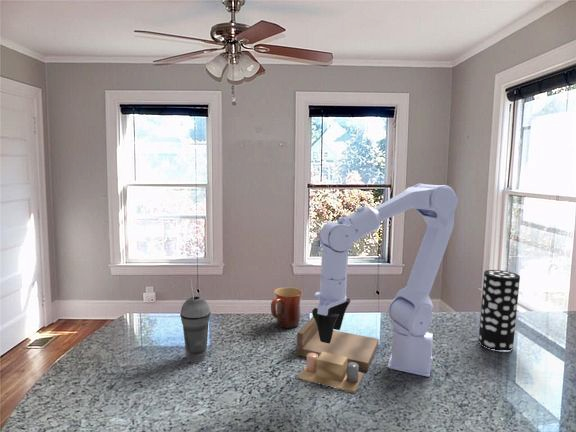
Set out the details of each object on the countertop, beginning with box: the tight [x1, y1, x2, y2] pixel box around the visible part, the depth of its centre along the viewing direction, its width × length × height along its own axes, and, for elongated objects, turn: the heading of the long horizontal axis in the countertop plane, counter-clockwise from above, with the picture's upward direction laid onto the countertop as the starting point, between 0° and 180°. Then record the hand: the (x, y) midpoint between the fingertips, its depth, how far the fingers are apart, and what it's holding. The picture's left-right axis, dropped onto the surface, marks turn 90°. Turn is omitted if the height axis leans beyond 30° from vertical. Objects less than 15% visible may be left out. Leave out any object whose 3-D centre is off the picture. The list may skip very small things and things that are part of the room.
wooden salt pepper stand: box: [298, 352, 365, 394], centre depth 87 cm, size 13×8×5 cm, turn 65°
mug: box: [270, 286, 304, 329], centre depth 114 cm, size 12×9×10 cm
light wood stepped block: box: [296, 316, 380, 372], centre depth 99 cm, size 18×14×6 cm
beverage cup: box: [179, 278, 212, 364], centre depth 93 cm, size 7×7×20 cm
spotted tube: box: [477, 269, 521, 350], centre depth 103 cm, size 8×8×20 cm
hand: (330, 335), depth 86 cm, fingers open, 7 cm apart
